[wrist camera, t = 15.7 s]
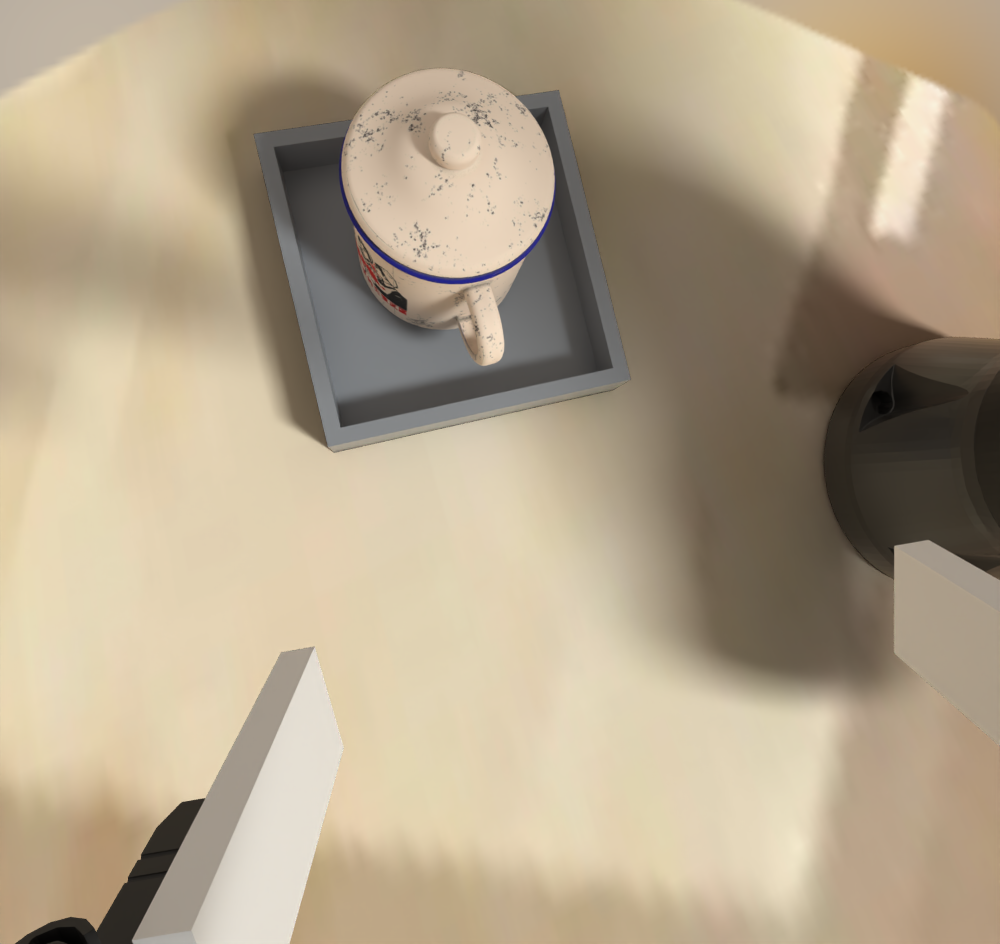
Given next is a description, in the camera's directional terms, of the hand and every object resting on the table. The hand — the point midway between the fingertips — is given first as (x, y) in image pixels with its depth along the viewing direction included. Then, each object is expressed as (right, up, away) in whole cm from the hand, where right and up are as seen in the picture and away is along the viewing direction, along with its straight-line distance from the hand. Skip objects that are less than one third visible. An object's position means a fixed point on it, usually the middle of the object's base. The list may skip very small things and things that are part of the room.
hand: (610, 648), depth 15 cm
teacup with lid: (-5, +15, +21) cm, 26 cm away
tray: (-6, +15, +22) cm, 27 cm away
